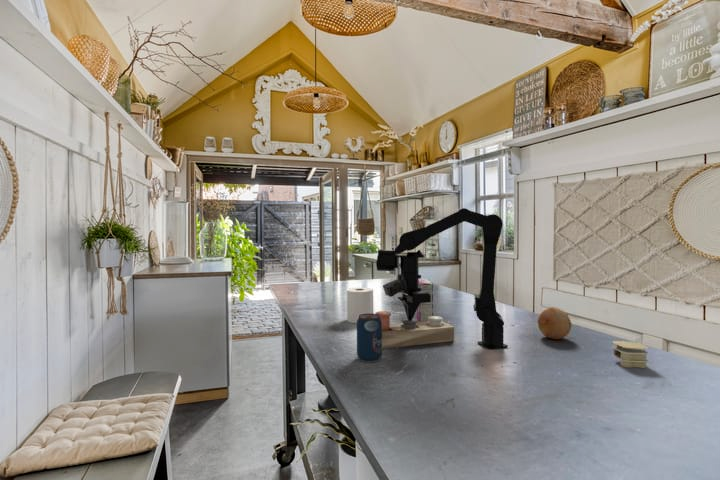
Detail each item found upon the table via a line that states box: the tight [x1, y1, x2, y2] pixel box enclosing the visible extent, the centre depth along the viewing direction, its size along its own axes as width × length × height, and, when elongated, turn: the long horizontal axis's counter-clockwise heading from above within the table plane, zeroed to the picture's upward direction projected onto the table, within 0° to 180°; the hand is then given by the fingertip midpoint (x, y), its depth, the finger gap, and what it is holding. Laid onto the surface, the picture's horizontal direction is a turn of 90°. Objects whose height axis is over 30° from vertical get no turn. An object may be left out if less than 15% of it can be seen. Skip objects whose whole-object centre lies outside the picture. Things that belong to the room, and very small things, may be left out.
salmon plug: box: [374, 310, 392, 331], centre depth 122 cm, size 5×5×6 cm
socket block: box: [382, 320, 455, 350], centre depth 124 cm, size 10×26×4 cm, turn 107°
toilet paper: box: [346, 287, 374, 324], centre depth 151 cm, size 10×10×12 cm
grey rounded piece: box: [401, 317, 417, 329], centre depth 124 cm, size 5×5×6 cm
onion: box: [537, 306, 572, 340], centre depth 125 cm, size 10×10×10 cm
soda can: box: [356, 313, 383, 363], centre depth 108 cm, size 7×7×12 cm
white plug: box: [428, 315, 443, 326], centre depth 127 cm, size 5×5×6 cm
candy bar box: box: [415, 278, 434, 321], centre depth 142 cm, size 11×5×16 cm, turn 179°
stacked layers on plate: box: [611, 340, 649, 369], centre depth 102 cm, size 10×9×6 cm
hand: (409, 320), depth 124 cm, fingers closed, pressing on grey rounded piece
